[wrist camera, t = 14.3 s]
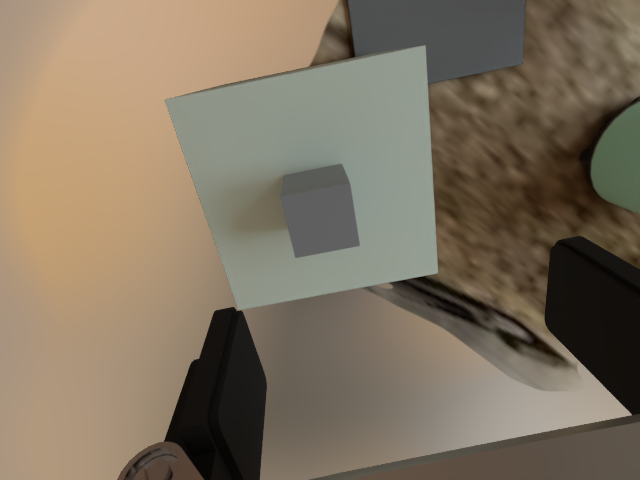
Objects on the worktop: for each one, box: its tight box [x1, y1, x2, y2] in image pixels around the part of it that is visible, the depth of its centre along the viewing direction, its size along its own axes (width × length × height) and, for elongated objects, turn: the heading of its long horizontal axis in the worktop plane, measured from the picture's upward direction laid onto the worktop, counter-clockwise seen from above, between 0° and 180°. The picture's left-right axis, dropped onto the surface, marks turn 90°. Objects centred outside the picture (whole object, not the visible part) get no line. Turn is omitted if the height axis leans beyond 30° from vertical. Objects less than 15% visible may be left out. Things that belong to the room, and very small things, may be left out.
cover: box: [165, 45, 438, 310], centre depth 32 cm, size 16×16×23 cm
